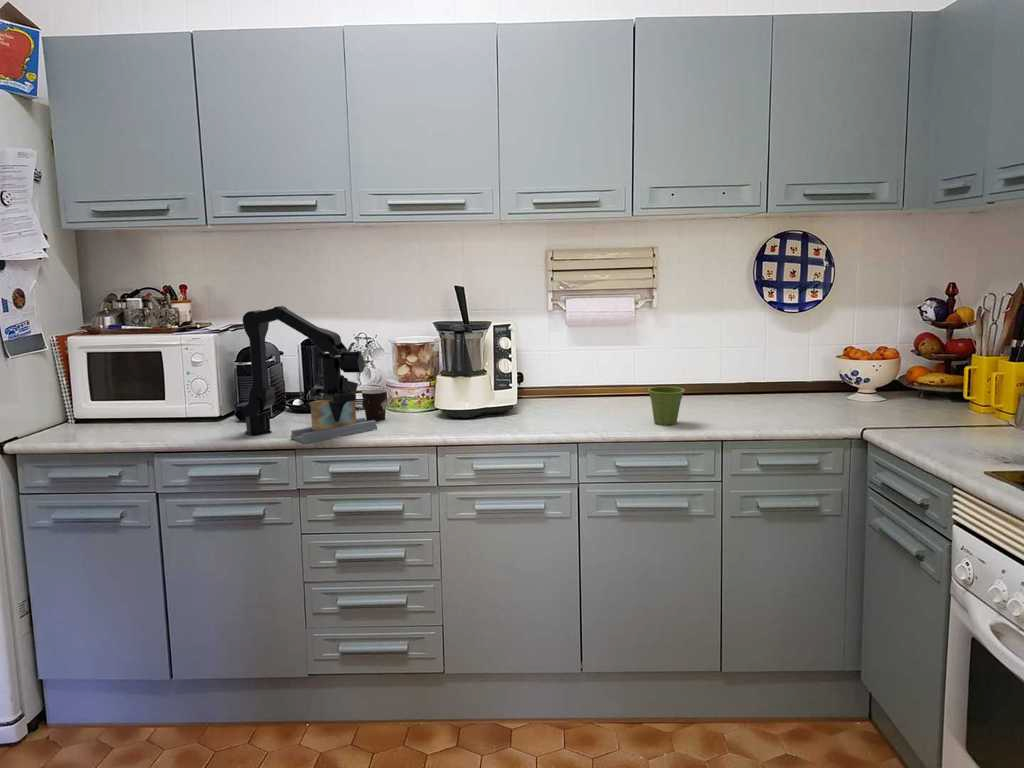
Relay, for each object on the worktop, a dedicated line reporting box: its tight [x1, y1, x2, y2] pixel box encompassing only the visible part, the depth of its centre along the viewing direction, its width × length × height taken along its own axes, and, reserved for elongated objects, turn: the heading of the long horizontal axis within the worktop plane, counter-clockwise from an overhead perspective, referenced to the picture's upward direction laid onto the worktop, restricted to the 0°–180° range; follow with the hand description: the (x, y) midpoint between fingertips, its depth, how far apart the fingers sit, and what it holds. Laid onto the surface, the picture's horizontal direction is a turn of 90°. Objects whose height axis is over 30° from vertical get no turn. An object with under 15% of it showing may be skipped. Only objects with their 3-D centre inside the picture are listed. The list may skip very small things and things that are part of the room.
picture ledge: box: [290, 417, 378, 444], centre depth 248 cm, size 26×9×3 cm, turn 134°
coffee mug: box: [361, 388, 388, 422], centre depth 267 cm, size 12×9×10 cm
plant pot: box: [647, 386, 686, 426], centre depth 252 cm, size 12×12×11 cm
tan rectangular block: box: [309, 398, 357, 431], centre depth 247 cm, size 14×4×9 cm, turn 134°
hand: (334, 420), depth 247 cm, fingers closed on tan rectangular block, 3 cm apart
